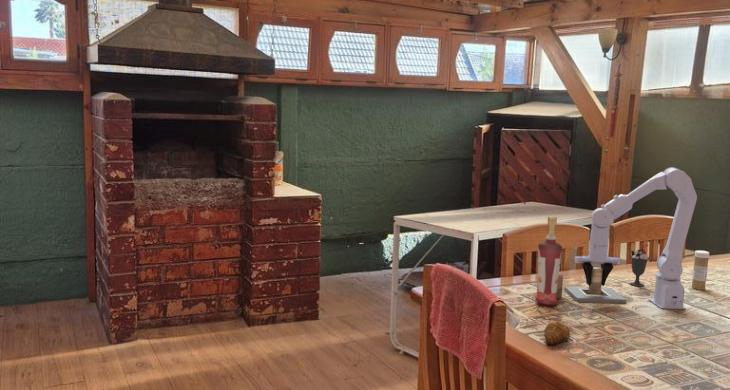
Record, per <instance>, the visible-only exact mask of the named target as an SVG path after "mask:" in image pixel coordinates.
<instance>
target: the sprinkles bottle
mask: <svg viewBox="0 0 730 390" xmlns="http://www.w3.org/2000/svg"><path fill="white" fill-rule="evenodd" d="M709 259H710V252H709V251H706V250H701V249H700V250H695V252H694V261H693V262H694V264H693V271H692V277H691V278H692V282H691V288H692V289H693V290H699V291H703V290H705V289H706V282H707V276H708V269H709V268H708V267H709V266H708V265H709Z"/></svg>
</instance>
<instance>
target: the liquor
mask: <svg viewBox="0 0 730 390" xmlns="http://www.w3.org/2000/svg"><path fill="white" fill-rule="evenodd" d="M557 218H558V217H557V216H547V231H546V232H547V233H546V237H545V241H542V242H540V243H539V244H538V245H537V284H536V285H537V287H536V296H535V298H534V299H535V301H536V303H537V304H539V305H541V306H543V307H552V306H554V305H555V304H557V303H558V298H556V295H557V285H558V277H559V274H560V269H561V262H562V253H563V246H562V245H561V244H560V243H559V242H557V241H556V240H557V239H556V237H557V236H556V227H557V221H558V219H557Z"/></svg>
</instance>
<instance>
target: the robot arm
mask: <svg viewBox="0 0 730 390" xmlns="http://www.w3.org/2000/svg"><path fill="white" fill-rule="evenodd" d="M667 187H668V188H669V189H670V190H672V192H673V193H674V195H675V197H677V198H678V201H677V205H676V208H675V210H674V211H675V212H674V216H673V220H672V223H671V226H670V230H669V234H668V237H667V242H666V245H665V247H664V248H663V249H662V253H661V255H660V256H659V257H658V258H657V260H656V267H657V269H658V272H657V273H655V283H654V290H653V291H654V292H653V297H652V298H651V297H649V298H648V301H650V302H651V303H653V304H654V305H655V306H657V307H658V308H660V309H671V310H672V309H673V310H686V307H685V306H684V300H685V292H686V291H685V287H684V285H683V284H682V282H681V279H682V278H681V275H682V274H683V270H684V268H683V264H682V262H683V258H684V257H683V250H684V247H685V246H684V245H685V242H686V240H687V235H688V233H689V229H690V225H691V222H692V217H693V214H694V211H695V207H696V203H697V200H698V196H697V192H696V190H695V188H694V187H695V186H694V185H693V181H692V178H691V177H690V176H689V174H687V172H685V171H683V170H681V169H679V168H677V167H668V168H665V170H663V171H660V172H658V173H657V174H655V175H654V176H652V177H651V178H649V179H648V180H646V181H645V182H643V183H641V184H640V185H639V186H638V187H636V188H635V189H632V191H630V192H629V193H628V194H622V193H620V194H619V195H618V194H615V195H614V196H613V199H611V200H609V201H608V202H607V203H605V204H604V203H603V204H601V205H600V207H598V208H596V209H594V210H593V211H592V213H591V215H590V218H591V221H592V223H591V226H590V227H591V230H590V236H589V250H588V255H579V256H574V263H575V264H581V267H582V269H583V272H584V276H585V281H586V282H585V283H586V285H588V286H589V285H591V275H592V270H593V267H594V266H592V265H593V264H599V265H600V268H601V269H603V273H602V285H601V287H603V286H605V284H606V283H607V279H608V277H609V275H610V274H611V272H612V270H613V269H614V265H618V266H619V265H621V258H620V257H612V256H608V253H609V252H608V249H609V237H610V231H609V230H610V225H611V223H612V221H613V220H616V219H618V218H619V217H621V216H622V215H625V213H627V212H629V211H630V210H632V208H633V205H634V203H636V202H637V201H639V200H641V199H643V198H644V197H647V196H648V195H650V194H651V193H652V192H654V191H656V190H660V191H661V190H662V191H663V190H667Z"/></svg>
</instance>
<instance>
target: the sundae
mask: <svg viewBox="0 0 730 390" xmlns="http://www.w3.org/2000/svg"><path fill="white" fill-rule="evenodd" d="M646 247H648V245H647V244H645V245H644V246H643V247H642V248H640V249H637V250H635V251H634V250H631V255H629V258H630V260H631V272H632V273H633V274H634V275H635V280H634V282H629V285H630V286H632V287H637V288H641V287H642V288H643V287H645V284H643V283H641V282H640V276H642V275H643V274H644V273H645V271H646V267H647V264H648V262H649V261H650V260H651V259H650V257H649V256H648V254H647V251H646V250H645V248H646Z"/></svg>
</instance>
